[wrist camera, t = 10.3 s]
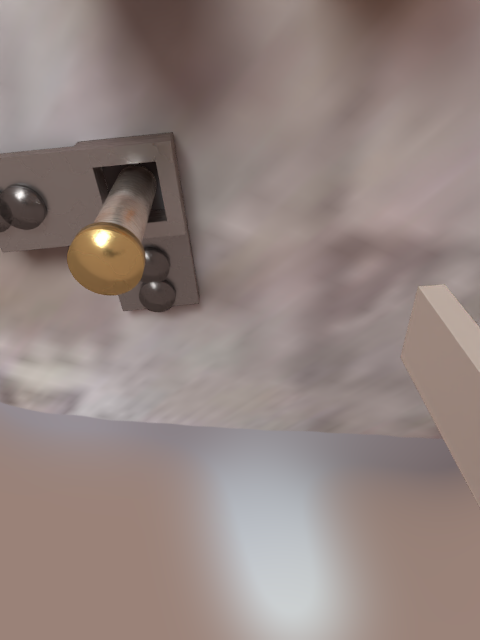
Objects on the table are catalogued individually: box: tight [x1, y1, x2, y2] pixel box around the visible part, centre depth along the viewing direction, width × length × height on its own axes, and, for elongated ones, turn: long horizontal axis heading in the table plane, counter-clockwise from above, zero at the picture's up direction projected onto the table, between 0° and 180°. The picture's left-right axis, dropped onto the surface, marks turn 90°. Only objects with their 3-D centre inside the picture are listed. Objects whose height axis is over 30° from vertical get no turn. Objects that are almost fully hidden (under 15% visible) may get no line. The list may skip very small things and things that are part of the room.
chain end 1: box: [0, 137, 186, 252], centre depth 32 cm, size 15×7×2 cm, turn 95°
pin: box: [67, 164, 157, 295], centre depth 28 cm, size 4×4×13 cm
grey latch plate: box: [74, 132, 199, 312], centre depth 35 cm, size 15×7×2 cm, turn 5°
